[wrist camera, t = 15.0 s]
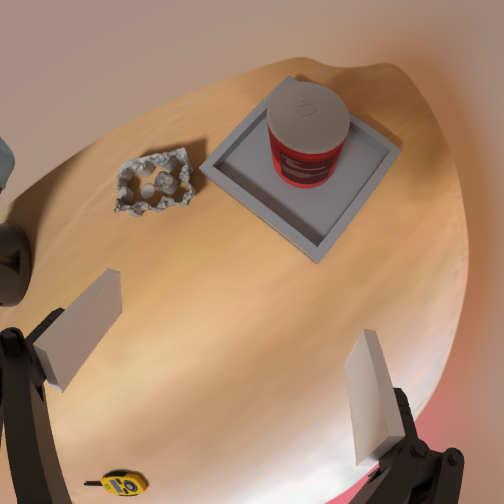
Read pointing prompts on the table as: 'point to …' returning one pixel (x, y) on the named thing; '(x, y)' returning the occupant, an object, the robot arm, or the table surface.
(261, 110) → the tray
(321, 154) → the canned food
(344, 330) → the table surface
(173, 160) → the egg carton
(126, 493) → the yellow walkie talkie
